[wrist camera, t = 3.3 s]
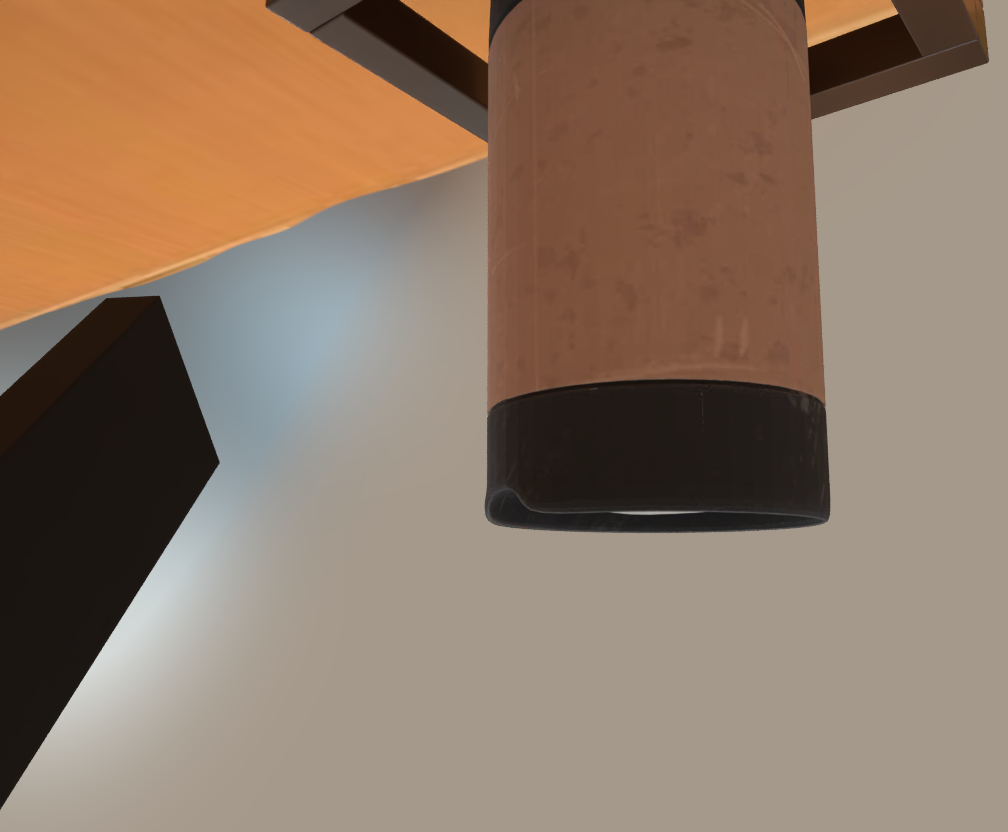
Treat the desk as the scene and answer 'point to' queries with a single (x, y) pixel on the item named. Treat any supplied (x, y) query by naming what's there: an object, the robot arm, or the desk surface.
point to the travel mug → (653, 269)
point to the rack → (464, 76)
